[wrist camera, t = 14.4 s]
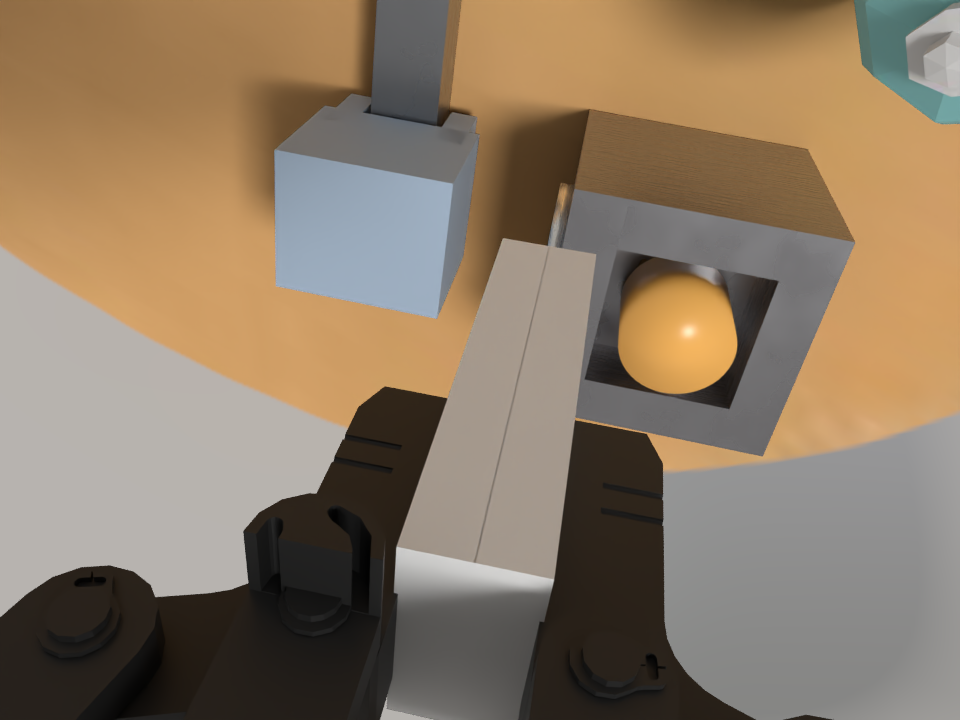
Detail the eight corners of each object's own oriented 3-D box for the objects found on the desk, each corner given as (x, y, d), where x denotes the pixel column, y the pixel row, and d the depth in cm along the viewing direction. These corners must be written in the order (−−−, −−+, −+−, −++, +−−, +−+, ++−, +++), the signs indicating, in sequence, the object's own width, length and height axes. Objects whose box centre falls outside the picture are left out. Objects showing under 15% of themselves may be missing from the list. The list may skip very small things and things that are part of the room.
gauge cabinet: (576, 107, 38) (558, 185, 29) (807, 149, 37) (855, 242, 29) (539, 294, 43) (515, 404, 35) (739, 334, 42) (762, 456, 34)
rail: (387, -280, 31) (356, -294, 28) (516, -261, 31) (501, -271, 27) (359, 241, 43) (336, 275, 40) (451, 259, 43) (435, 295, 40)
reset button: (634, 243, 33) (633, 284, 30) (743, 265, 32) (753, 308, 30) (609, 335, 35) (606, 381, 32) (711, 356, 35) (717, 403, 32)
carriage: (340, 91, 38) (274, 149, 31) (488, 118, 38) (453, 183, 31) (336, 210, 41) (275, 286, 34) (471, 236, 41) (437, 318, 34)
